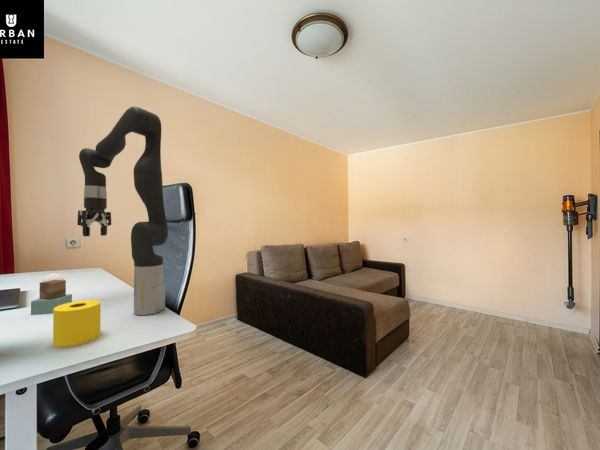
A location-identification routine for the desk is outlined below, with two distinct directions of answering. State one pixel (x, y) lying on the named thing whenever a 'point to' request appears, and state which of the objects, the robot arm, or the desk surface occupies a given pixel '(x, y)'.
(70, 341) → the yellow holed block
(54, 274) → the light bulb
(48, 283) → the walnut block
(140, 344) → the desk surface
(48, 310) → the teal block
